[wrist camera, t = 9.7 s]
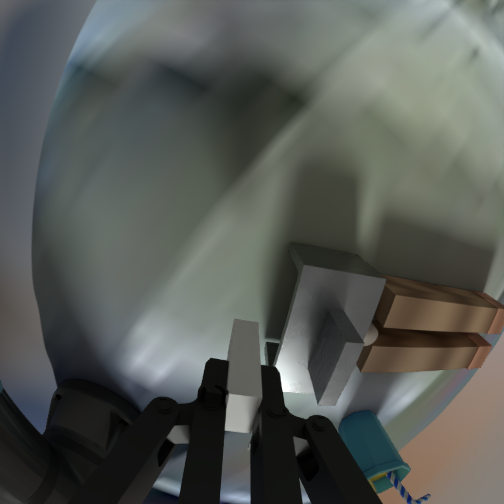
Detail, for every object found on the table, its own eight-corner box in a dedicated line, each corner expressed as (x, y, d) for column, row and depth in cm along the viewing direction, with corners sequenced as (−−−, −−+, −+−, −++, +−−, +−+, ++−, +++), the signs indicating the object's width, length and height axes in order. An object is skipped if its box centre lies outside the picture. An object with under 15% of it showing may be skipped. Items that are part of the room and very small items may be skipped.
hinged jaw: (361, 301, 24) (383, 328, 20) (371, 271, 24) (396, 294, 19) (475, 314, 26) (499, 333, 21) (484, 292, 25) (510, 309, 20)
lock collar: (264, 348, 25) (271, 428, 16) (290, 241, 22) (318, 291, 13) (324, 354, 26) (351, 429, 16) (357, 254, 23) (415, 304, 13)
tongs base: (287, 336, 26) (295, 371, 21) (303, 279, 24) (316, 306, 19) (459, 346, 27) (480, 367, 22) (478, 305, 26) (503, 323, 20)
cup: (412, 408, 30) (454, 484, 15) (379, 441, 32) (408, 515, 17) (337, 396, 28) (372, 503, 14) (304, 434, 30) (321, 531, 16)
